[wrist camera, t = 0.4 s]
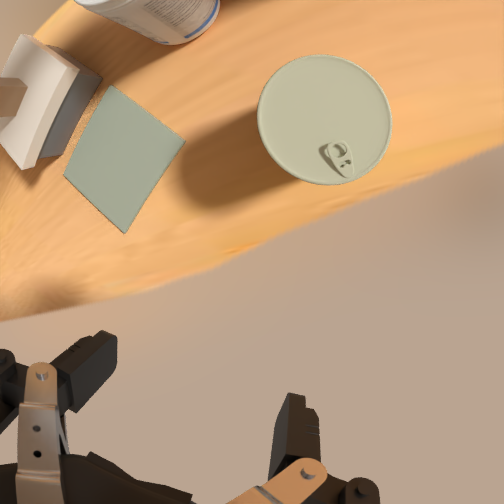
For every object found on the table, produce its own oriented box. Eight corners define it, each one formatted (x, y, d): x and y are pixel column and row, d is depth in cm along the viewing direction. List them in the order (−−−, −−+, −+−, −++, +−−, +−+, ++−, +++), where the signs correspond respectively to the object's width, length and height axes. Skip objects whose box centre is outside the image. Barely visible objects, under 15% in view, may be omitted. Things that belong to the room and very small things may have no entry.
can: (294, 184, 31) (288, 207, 20) (258, 104, 29) (232, 82, 17) (375, 154, 28) (414, 161, 17) (340, 74, 26) (359, 35, 15)
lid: (32, 35, 23) (-7, 29, 16) (79, 69, 24) (33, 61, 17) (-6, 120, 28) (-43, 124, 21) (34, 167, 29) (-9, 177, 22)
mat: (112, 85, 30) (110, 84, 29) (186, 141, 31) (184, 141, 31) (65, 174, 35) (63, 174, 34) (126, 232, 36) (124, 233, 36)
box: (58, 47, 28) (25, 40, 22) (102, 78, 30) (66, 71, 23) (24, 116, 33) (-9, 118, 26) (62, 154, 34) (26, 160, 27)
